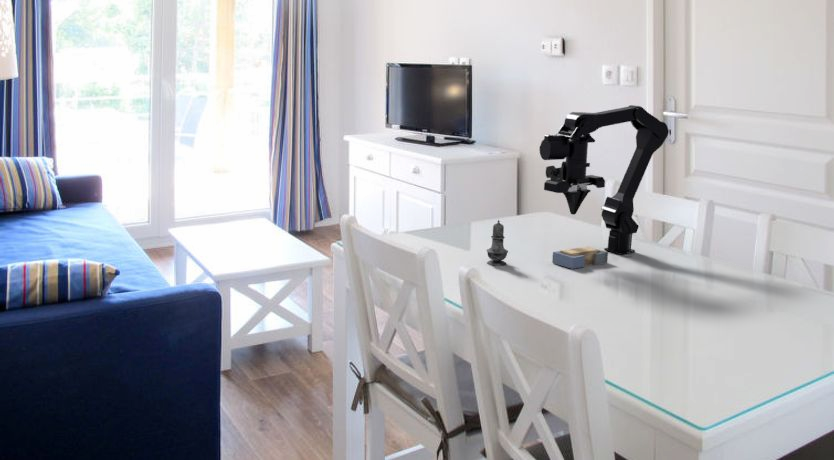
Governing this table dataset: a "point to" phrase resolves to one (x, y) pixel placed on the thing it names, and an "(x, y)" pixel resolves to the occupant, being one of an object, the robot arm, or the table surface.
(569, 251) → the slat
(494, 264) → the salt shaker
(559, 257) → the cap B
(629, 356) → the table surface
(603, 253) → the grey u channel
